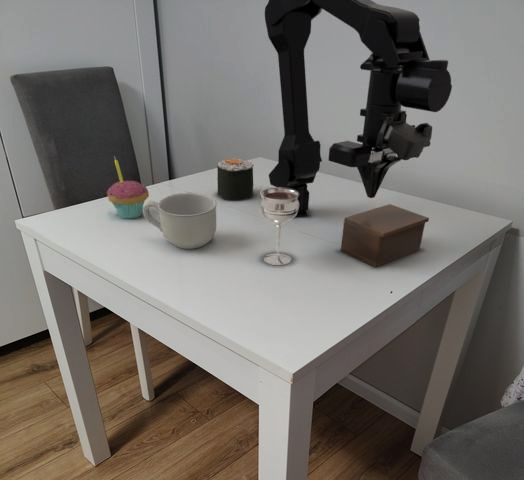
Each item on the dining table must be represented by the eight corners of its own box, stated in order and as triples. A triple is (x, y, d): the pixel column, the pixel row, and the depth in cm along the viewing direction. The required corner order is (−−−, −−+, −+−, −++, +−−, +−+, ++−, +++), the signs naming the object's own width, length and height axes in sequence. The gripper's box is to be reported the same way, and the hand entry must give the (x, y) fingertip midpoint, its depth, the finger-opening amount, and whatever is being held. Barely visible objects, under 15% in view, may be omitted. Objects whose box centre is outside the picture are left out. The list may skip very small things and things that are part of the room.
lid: (428, 221, 89) (429, 217, 89) (382, 237, 83) (383, 233, 82) (389, 207, 95) (389, 203, 94) (343, 221, 88) (344, 217, 88)
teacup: (226, 236, 97) (225, 196, 92) (203, 258, 89) (201, 215, 84) (164, 227, 101) (159, 188, 96) (136, 247, 92) (130, 205, 88)
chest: (419, 250, 93) (425, 220, 89) (375, 267, 86) (380, 236, 83) (384, 235, 98) (389, 207, 95) (340, 251, 92) (343, 221, 88)
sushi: (228, 202, 113) (227, 167, 109) (213, 192, 119) (211, 158, 115) (258, 197, 117) (259, 162, 112) (242, 187, 123) (242, 154, 118)
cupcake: (102, 218, 104) (92, 159, 97) (126, 205, 111) (117, 150, 104) (136, 224, 102) (128, 164, 95) (158, 211, 108) (152, 154, 101)
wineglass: (251, 257, 89) (251, 191, 82) (280, 248, 92) (282, 184, 86) (274, 270, 85) (276, 202, 78) (303, 261, 88) (308, 194, 81)
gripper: (384, 116, 71) (369, 221, 80) (459, 104, 80) (438, 199, 89) (330, 106, 78) (322, 202, 87) (405, 96, 87) (390, 184, 96)
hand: (370, 197), depth 90 cm, fingers closed
